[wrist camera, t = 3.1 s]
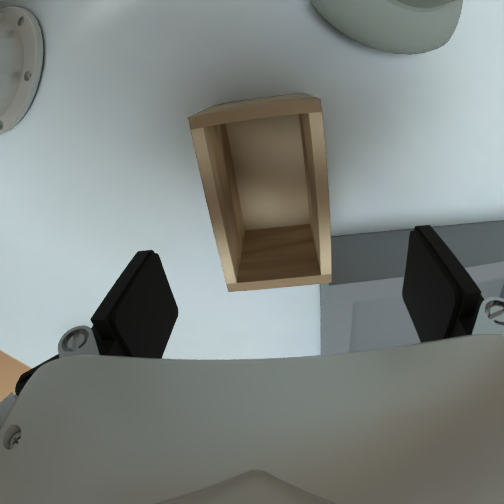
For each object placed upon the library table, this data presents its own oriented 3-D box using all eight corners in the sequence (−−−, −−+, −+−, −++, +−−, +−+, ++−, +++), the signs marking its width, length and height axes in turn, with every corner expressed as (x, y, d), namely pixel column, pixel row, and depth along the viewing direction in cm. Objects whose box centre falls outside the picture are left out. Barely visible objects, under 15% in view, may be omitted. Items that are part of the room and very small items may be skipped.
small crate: (214, 105, 19) (188, 117, 13) (304, 93, 18) (320, 99, 12) (239, 234, 24) (228, 291, 18) (317, 226, 23) (331, 282, 17)
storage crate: (317, 238, 24) (329, 285, 19) (524, 218, 21) (560, 250, 16) (320, 384, 34) (324, 427, 29) (476, 354, 31) (491, 388, 26)
